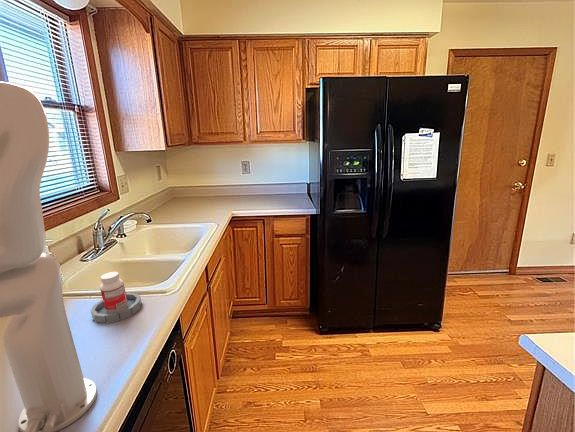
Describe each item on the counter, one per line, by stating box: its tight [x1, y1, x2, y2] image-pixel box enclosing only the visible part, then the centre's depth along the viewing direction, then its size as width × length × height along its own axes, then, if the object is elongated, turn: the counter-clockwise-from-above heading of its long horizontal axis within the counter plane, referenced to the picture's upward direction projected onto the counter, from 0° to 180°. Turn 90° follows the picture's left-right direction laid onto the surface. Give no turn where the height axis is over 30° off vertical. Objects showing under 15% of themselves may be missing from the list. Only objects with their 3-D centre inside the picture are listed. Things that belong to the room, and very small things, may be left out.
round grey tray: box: [90, 292, 142, 324], centre depth 97 cm, size 13×13×2 cm
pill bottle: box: [99, 271, 128, 313], centre depth 95 cm, size 6×6×11 cm
